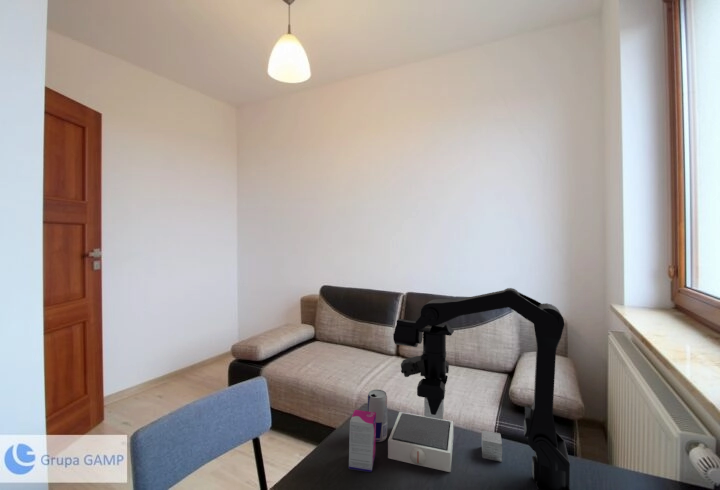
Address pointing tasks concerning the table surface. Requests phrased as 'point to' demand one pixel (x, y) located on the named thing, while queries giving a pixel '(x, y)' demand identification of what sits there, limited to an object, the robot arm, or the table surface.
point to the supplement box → (362, 440)
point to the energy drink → (379, 412)
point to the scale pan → (422, 431)
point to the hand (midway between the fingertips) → (434, 409)
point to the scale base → (421, 450)
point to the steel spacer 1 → (428, 413)
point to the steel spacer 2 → (491, 446)
